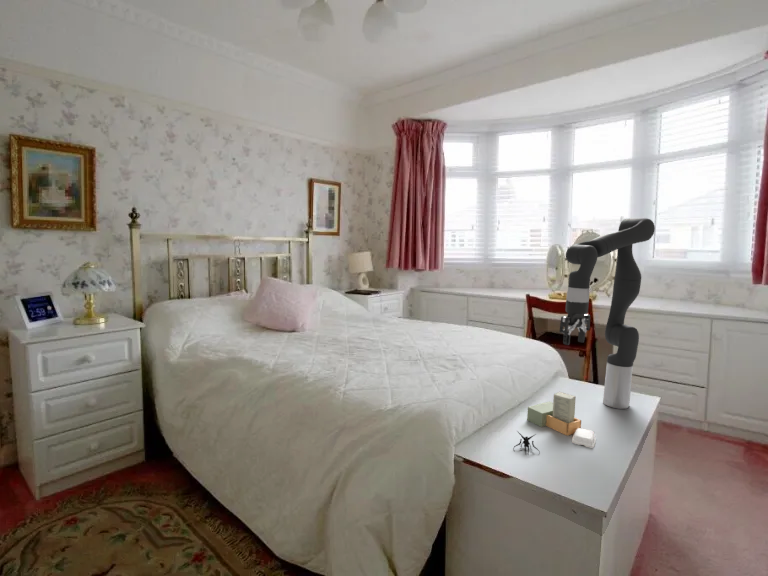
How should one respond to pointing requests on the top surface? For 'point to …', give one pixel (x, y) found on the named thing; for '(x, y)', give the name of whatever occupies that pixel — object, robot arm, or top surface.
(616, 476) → the top surface
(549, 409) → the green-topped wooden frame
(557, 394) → the skincare box
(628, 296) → the robot arm
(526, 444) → the creature
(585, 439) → the soap
